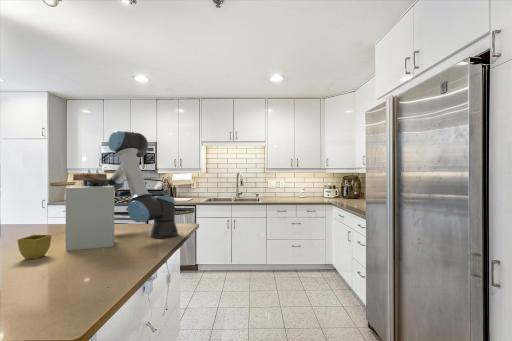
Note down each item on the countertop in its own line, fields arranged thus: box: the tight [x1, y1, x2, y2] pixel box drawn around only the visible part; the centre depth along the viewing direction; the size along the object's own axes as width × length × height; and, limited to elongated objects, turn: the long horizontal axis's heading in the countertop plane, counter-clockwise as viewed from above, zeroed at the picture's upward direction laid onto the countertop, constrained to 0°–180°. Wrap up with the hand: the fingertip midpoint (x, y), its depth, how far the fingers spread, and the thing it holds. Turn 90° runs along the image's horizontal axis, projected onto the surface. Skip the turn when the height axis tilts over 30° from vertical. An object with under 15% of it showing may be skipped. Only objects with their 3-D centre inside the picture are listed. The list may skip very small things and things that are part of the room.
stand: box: [65, 186, 115, 252], centre depth 143 cm, size 20×10×30 cm, turn 112°
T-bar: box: [72, 173, 108, 182], centre depth 150 cm, size 14×21×3 cm, turn 22°
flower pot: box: [16, 234, 52, 260], centre depth 125 cm, size 9×9×9 cm
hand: (92, 171), depth 148 cm, fingers closed on T-bar, 3 cm apart
